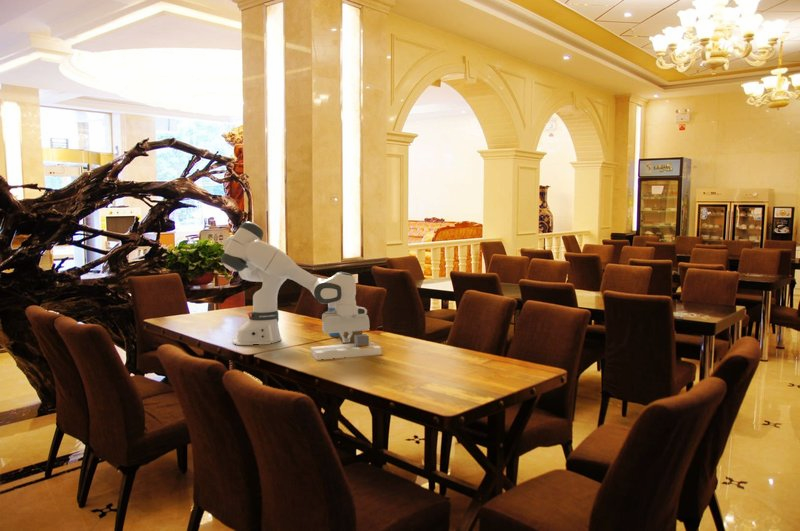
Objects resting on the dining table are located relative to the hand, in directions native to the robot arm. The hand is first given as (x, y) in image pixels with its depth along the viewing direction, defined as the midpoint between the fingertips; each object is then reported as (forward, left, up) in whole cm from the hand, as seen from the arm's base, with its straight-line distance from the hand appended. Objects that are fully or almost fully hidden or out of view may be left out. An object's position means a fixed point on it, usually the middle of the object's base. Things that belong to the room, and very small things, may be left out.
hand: (346, 342), depth 266 cm
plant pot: (+7, +18, -5) cm, 20 cm away
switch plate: (0, 0, -5) cm, 5 cm away
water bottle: (+7, +41, -5) cm, 42 cm away
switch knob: (+7, 0, -3) cm, 8 cm away
